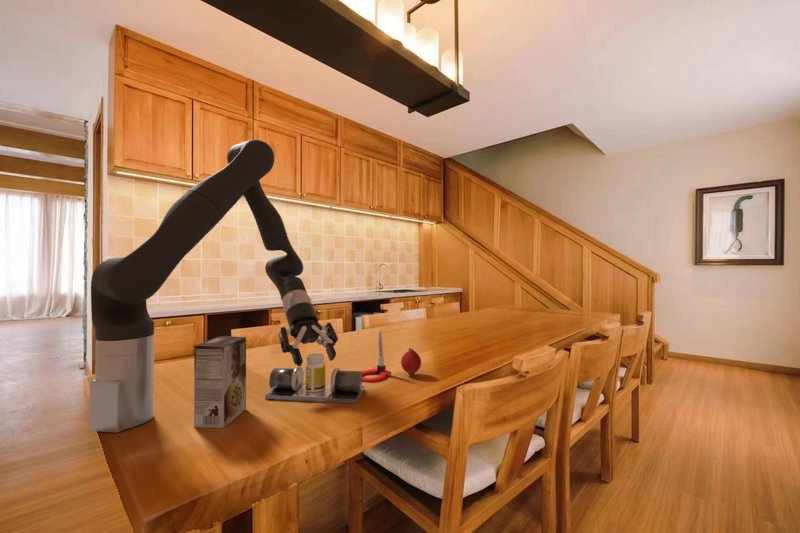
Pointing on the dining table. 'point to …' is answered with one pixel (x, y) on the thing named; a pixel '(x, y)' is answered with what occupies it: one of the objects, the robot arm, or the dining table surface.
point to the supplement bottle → (315, 373)
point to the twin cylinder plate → (293, 389)
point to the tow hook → (381, 367)
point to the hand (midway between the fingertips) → (317, 361)
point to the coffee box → (219, 381)
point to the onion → (411, 362)
